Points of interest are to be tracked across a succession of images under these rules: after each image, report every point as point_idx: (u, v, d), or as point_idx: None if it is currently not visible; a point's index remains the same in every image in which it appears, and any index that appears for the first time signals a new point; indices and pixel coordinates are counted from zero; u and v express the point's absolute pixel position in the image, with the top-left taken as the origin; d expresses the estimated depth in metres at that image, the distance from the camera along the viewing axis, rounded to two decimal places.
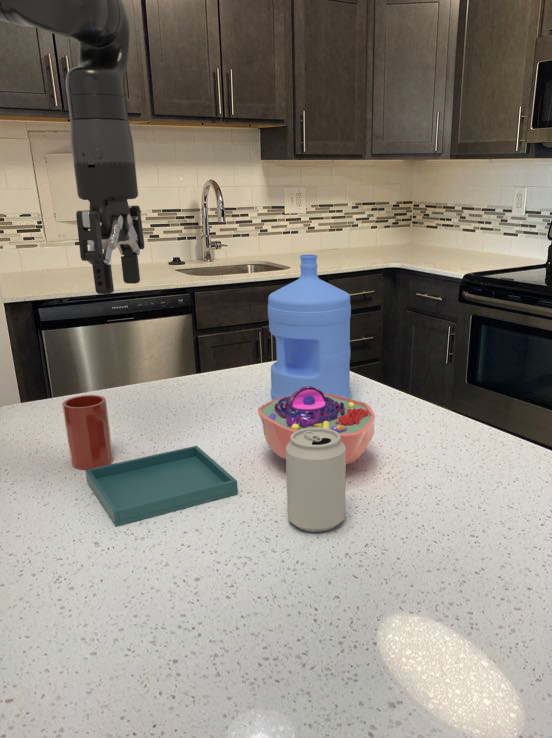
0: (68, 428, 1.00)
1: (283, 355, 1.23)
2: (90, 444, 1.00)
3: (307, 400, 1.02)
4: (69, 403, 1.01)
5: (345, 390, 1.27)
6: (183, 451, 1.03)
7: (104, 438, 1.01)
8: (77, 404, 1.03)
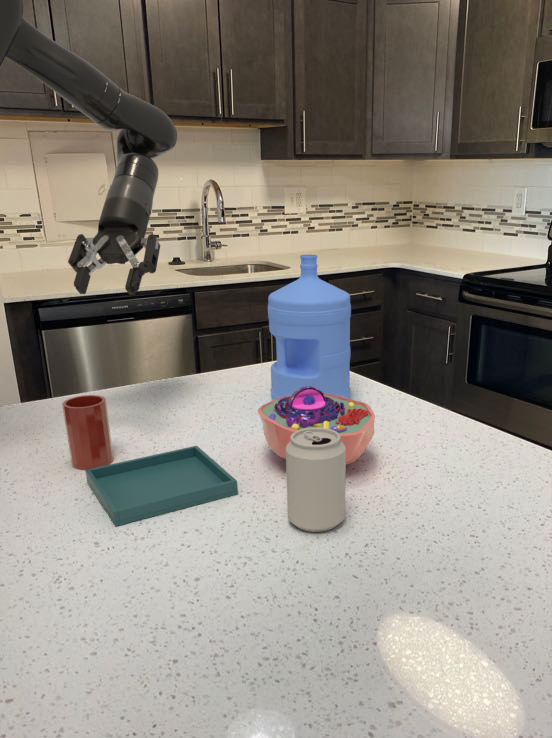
0: (68, 428, 1.00)
1: (283, 355, 1.23)
2: (90, 444, 1.00)
3: (307, 400, 1.02)
4: (69, 403, 1.01)
5: (345, 390, 1.27)
6: (183, 451, 1.03)
7: (104, 438, 1.01)
8: (77, 404, 1.03)
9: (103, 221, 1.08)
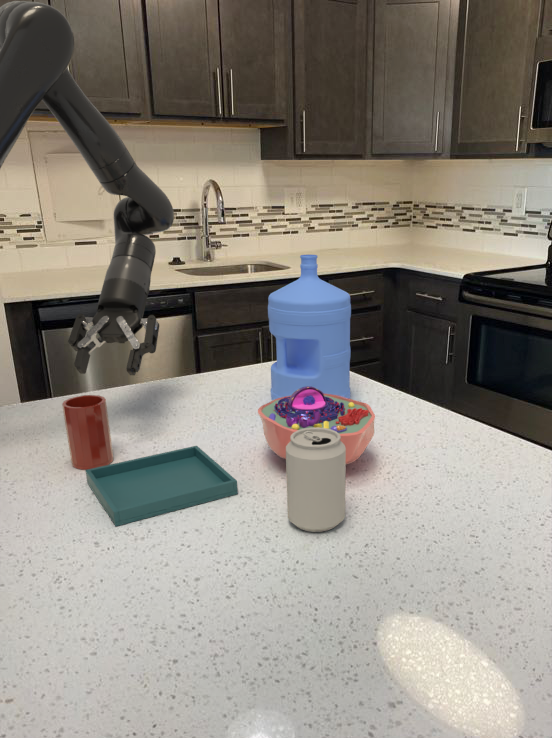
0: (68, 428, 1.00)
1: (283, 355, 1.23)
2: (90, 444, 1.00)
3: (307, 400, 1.02)
4: (69, 403, 1.01)
5: (345, 390, 1.27)
6: (183, 451, 1.03)
7: (104, 438, 1.01)
8: (77, 404, 1.03)
9: (103, 302, 1.10)
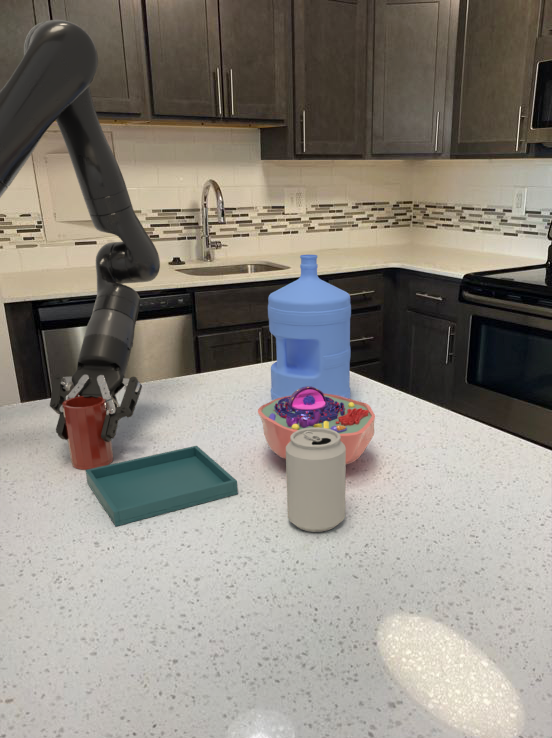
0: (68, 428, 1.00)
1: (283, 355, 1.23)
2: (90, 444, 1.00)
3: (307, 400, 1.02)
4: (69, 403, 1.01)
5: (345, 390, 1.27)
6: (183, 451, 1.03)
7: None
8: (76, 404, 1.03)
9: (83, 360, 1.04)
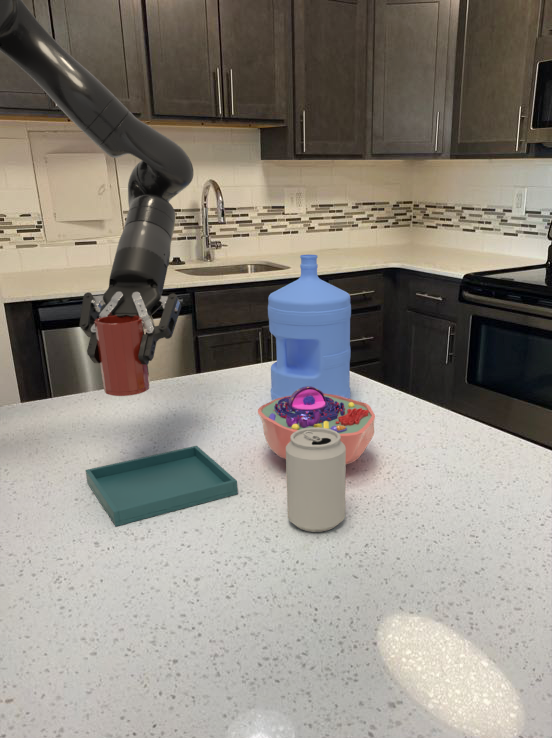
0: (101, 348, 0.89)
1: (283, 355, 1.23)
2: (126, 366, 0.89)
3: (307, 400, 1.02)
4: (101, 322, 0.91)
5: (345, 390, 1.27)
6: (183, 451, 1.03)
7: None
8: None
9: (116, 275, 0.93)
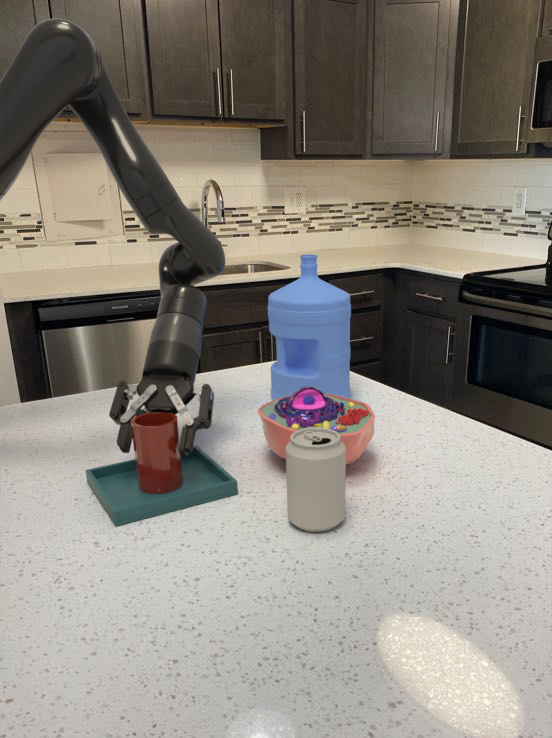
0: (137, 449, 0.91)
1: (283, 355, 1.23)
2: (161, 466, 0.91)
3: (307, 400, 1.02)
4: (137, 421, 0.92)
5: (345, 390, 1.27)
6: None
7: (176, 459, 0.92)
8: (144, 422, 0.94)
9: (150, 368, 0.94)
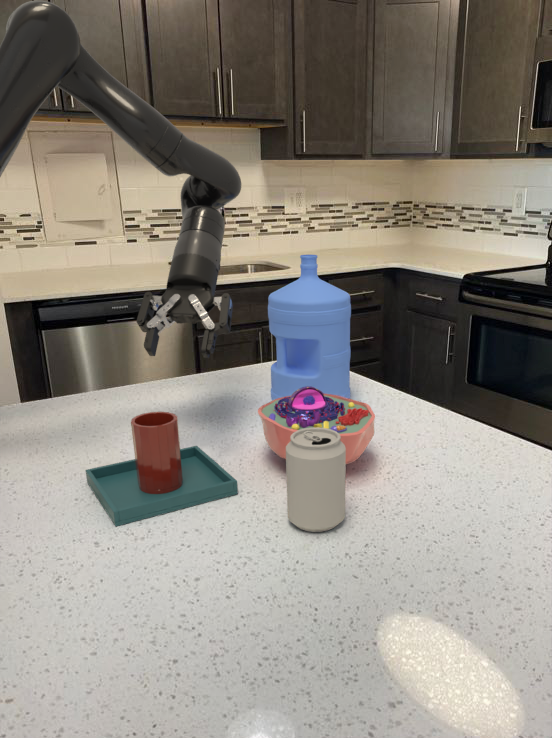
0: (137, 449, 0.91)
1: (283, 355, 1.23)
2: (161, 466, 0.91)
3: (307, 400, 1.02)
4: (137, 421, 0.92)
5: (345, 390, 1.27)
6: (183, 451, 1.03)
7: (176, 459, 0.92)
8: (144, 422, 0.94)
9: (174, 279, 1.02)
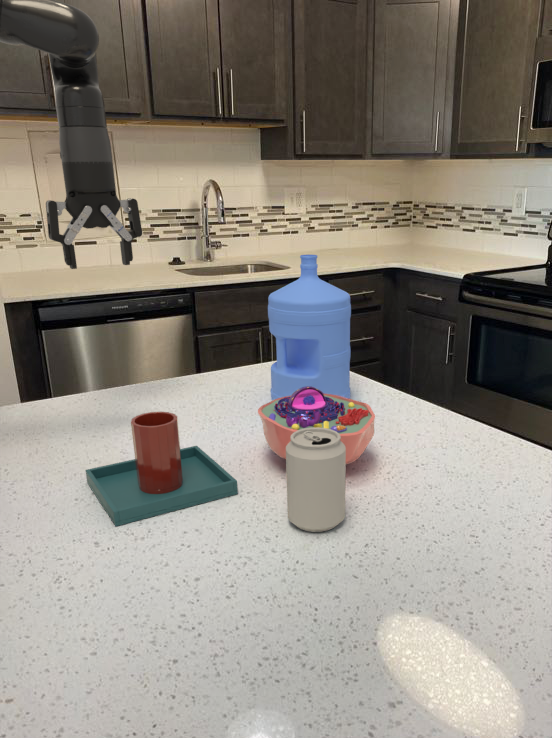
0: (137, 449, 0.91)
1: (283, 355, 1.23)
2: (161, 466, 0.91)
3: (307, 400, 1.02)
4: (137, 421, 0.92)
5: (345, 390, 1.27)
6: (183, 451, 1.03)
7: (176, 459, 0.92)
8: (144, 422, 0.94)
9: (84, 192, 1.01)
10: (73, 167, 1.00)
